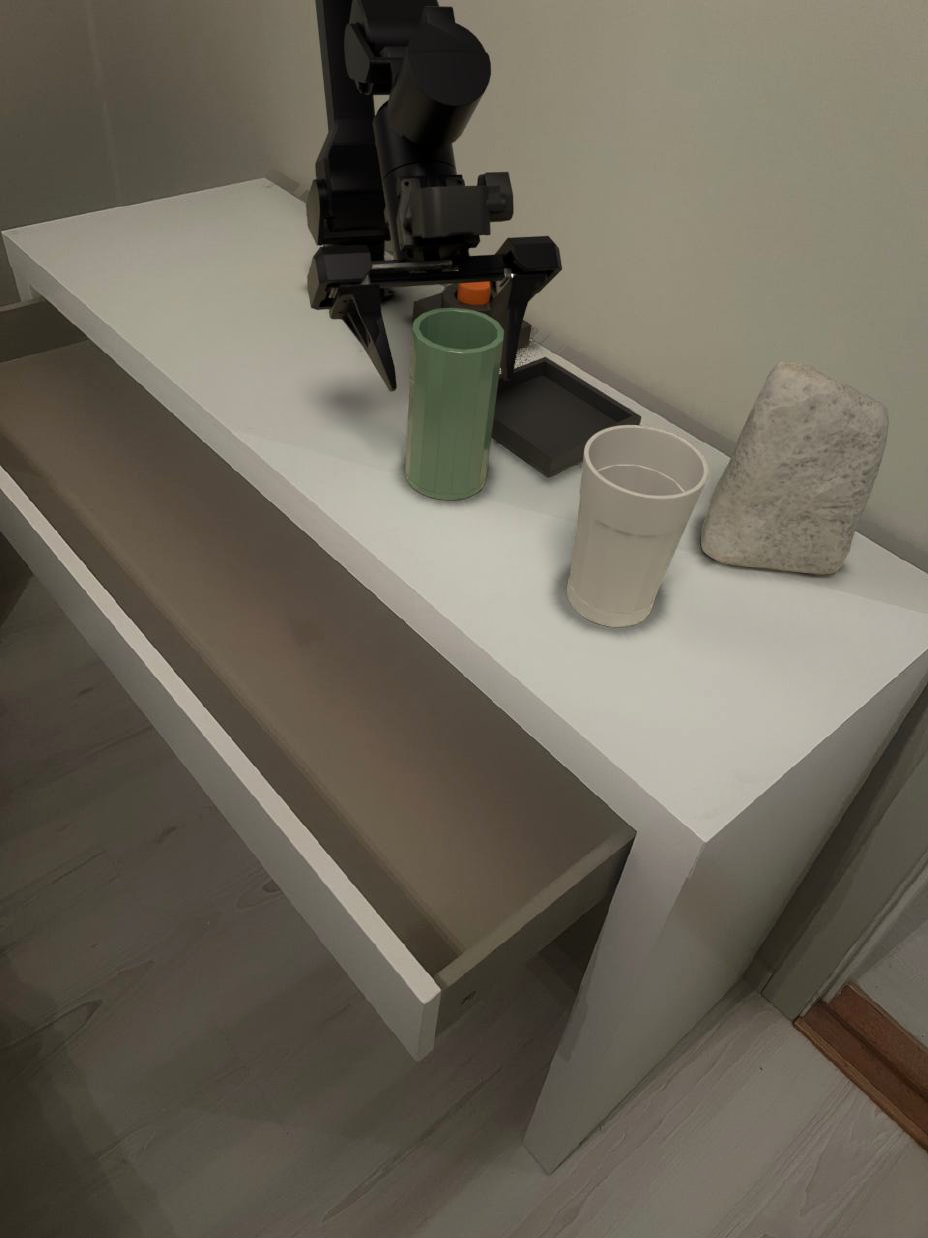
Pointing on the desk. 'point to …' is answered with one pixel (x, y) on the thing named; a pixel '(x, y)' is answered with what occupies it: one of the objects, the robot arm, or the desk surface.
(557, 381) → the drip tray
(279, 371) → the desk surface
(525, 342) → the push button box
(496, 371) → the canister
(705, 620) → the desk surface
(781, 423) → the decorative stone
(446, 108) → the robot arm
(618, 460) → the cup
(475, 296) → the button
